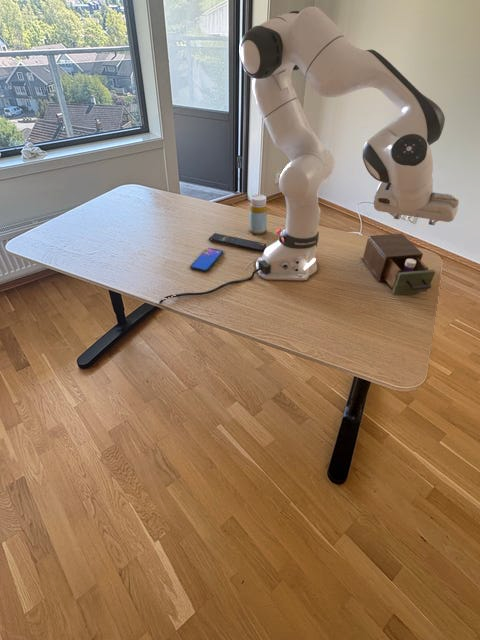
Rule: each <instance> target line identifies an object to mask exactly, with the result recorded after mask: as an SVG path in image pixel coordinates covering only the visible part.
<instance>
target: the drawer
mask: <svg viewBox="0 0 480 640" xmlns="http://www.w3.org/2000/svg"><path fill="white" fill-rule="evenodd" d="M407 259H414V260H415V261H416V265H415V267H414V270H413V271H410V272H402V271H403V268H404V265H405V262H406V260H407ZM435 274H436V270H435V269H429V266H428V265H426V264H425V262H423V261H422V259H421V260H420V259H419V258H418V257H406V258H393V259H388V261H387V265H386V268H385V271H384V274H383V277H384V279H385V280H386V281H385V282H386V283H387V284H388V286H390V288H391V289H392V290H391V293H392V295H393V296H395V295H396V296H397V295H406V294H407V295H408V294H418V293H428V291H429V290H430V289H432V285H431V284H432V281H433V278H434V276H435Z"/></svg>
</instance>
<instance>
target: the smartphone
mask: <svg viewBox="0 0 480 640" xmlns="http://www.w3.org/2000/svg"><path fill="white" fill-rule="evenodd" d="M207 248H208V250H209V251H208V250H207V251H208V254H209V255H208V254H205V253H203V252H202V253H201V254H200V255H199V256H198V257H197V258H196V259H195V260H194V261H193V262H192V263H191V264H190V269H192V270H195V271H201V272H208V271H209V270H210V269H211V268H212V267H213V266H214V265H215V263H216V262H217V261H218V260H219V258H220V257H221V256H222V255H223V253H224V251H223V250H222V249H217V248H212V247H207Z"/></svg>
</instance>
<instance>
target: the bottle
mask: <svg viewBox="0 0 480 640" xmlns="http://www.w3.org/2000/svg"><path fill="white" fill-rule="evenodd" d="M267 217H268V208H267V196H266V195H264V194H253V195H251V197H250V207H249V232H251V234H253V235H257V236H259V235H263V234H265V233H266V232H267V219H268V218H267Z"/></svg>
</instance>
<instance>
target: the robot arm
mask: <svg viewBox="0 0 480 640" xmlns="http://www.w3.org/2000/svg"><path fill="white" fill-rule="evenodd" d="M238 52H239V59H240V64H241V66H242V68H243V70H244V72H245V73H246V74H247V76H249V77H250V78H252V79H253V80H252V85H251V87H252V91H253V95H254V99H255V103H256V105H257V108H258V111H259V113H260V116H261V118H262V120H263V123H264V125H265V128H266V129H267V132H268V133H269V136H270V138H271V140H272V142H273V144H274V146H275V147H276V148H277V149H279V150H281V151H282V152H283V153H284V154H285V155H286V157H287V158H288V159H289V161H290V162H289V163H288V164H287V165H286V166H285V168H284V169H283V170H282V171H281V174H280V175H279V178H278V187H279V190H280V192H281V194H282V195H283V196H284V199H285V205H286V217H285V228H284V229H283V230H282V228H280V227H278V228H276V230H275V234H276V235H277V236H278V239H277V240H276V241H274V242H272V243H271V244H269V245H268V246H266V248H265V250H264V251H262V252H263V253H262V256H259V257H258V258H257V259H256V261H255V270H254V271H253V272H252V273H251V276H249V277H247V278H244V279H240V280H232V281H228V282H225V283H222V284H221V285H219V286H217V287H215V288H213V289H210V290H207V291H202V292H183V293H177V294H175V295H176V296H173V295H174V294H169V295H167V296H164V297H163V298H167V299H170V298H178V297H184V296H201V295H203V296H204V295H207V294H211V293H213V292H216V291H219V290H220V289H223V288H224V287H226V286H229V285H231V284H238V283H243V282H246V281H250V280H252V279H253V278H254V276H255V274H258V276H260V278H262V279H264V280H274V281H276V280H277V281H278V280H279V281H302V282H303V281H306V280H308V279H309V278H310V276H312V275H313V274H315V273H316V272H317V270H318V264H317V247H318V243H319V239H320V238H319V237H320V234H319V233H320V232H319V227H320V219H321V213H322V211H321V207H320V206H319V192H320V191H319V190H320V189H321V187H322V185H323V184H324V183H325V182H327V181H328V180H329V178H330V177H331V175H332V173H333V170H334V168H335V158H334V155H333V154H332V152H331V151H330V150H329V149H327V148H326V147H325V145H323V144H322V142H321V140H320V139H319V138H318V136H317V134H316V133H315V131H314V130H313V129H312V127H311V125H310V123H309V121H308V118H307V115H306V113H305V112H304V109H303V107H302V105H301V102H300V100H299V98H298V97H299V96H298V95H297V93H296V90H295V88H294V85H293V82H292V72H293V71H298V70H299V71H301V73H302V74H303V76H304V78H305V79H306V81H307V82H308V83H309V85H310V87H311V88H313V90H314V91H315V92H316V93H317V94H318V95H319V96H322V97H325V98H338V97H342V96H345V95H348V94H351V93H353V92H355V91H358V90H361V89H362V90H363V89H366V88H374V89H377V90H379V92H381V93H382V94H383V95H385V97H386V98H388V100H389V101H391V102H392V103H393V104H394V106H396V108H397V109H398V110H400V112H401V113H400V114H399V115H398V116H396V118H394V119H393V120H392V121H390V122H389V123H388V124H386V126H384V127H383V128H381V129H380V130H379V131H377V132H376V133H375V134H373V136H371V137H370V138H369V139H368V140H367V141H366V142H365V143H364V145H363V148H362V160H363V164H364V166H365V169H366V171H367V172H368V173H369V175H370V176H371V177H372V178H373V179H375V181H378V182H379V184H378V187H377V189H376V191H375V194H374V197H373V208H374V210H376V211H377V212H382V213H388V214H389V215H391V216H392V217H393V219H394V220H400V219H401V217H402V216H405V217H406V216H407V217H414V218H419V219H427V220H428V225H430V226H435V225H436V223H437V222H445V223H451V222H452V221H454V220H455V217H456V215H457V212H458V209H459V208H458V207H459V200H460V199H459V198H456V197H455V196H454V195H452V194H449V193H441V192H434V191H433V190H434V187H433V185H434V184H433V183H434V179H433V172H434V163H433V154H432V150H431V147H430V146H431V145H433V144H434V143H435V142H437V141H439V139H440V138H441V136H442V133H443V130H444V126H445V121H446V117H445V115H444V111H443V110H442V109H441V108H440V106H439V105H438V104H437V103H436V102H435V101H433V100H432V99H430V98H428V97H427V96H426V95H425V94H423V93H422V92H420V90H419V89H417V87H416V86H414V85H413V83H411V82H410V81H409V80H408V79H407V78H406V77H405V76H404V75H403V74H402V73H401V72H400V71H399V70H398V68H396V67H395V66H394V65H393V64H392V63H391V62H390V61H389V60H387V59H386V57H384V56H383V55H382V54H381V53H379V52H378V51H376V50H374V49H366V50H364V49H361V48H359V47H356V46H355V45H353V44H351V42H349V41H348V40H347V38H346V36H344V34H343V33H342V31H341V30H340V29H339V27H338V26H337V25H336V24H335V22H334V21H333V20H332V19H331V18H330V17H329V16H328V15H327V14H326V13H325V12H324V11H323V10H322V9H320V8H319V7H317V6H308V7H304V8H303V9H302V10H293V11H289V12H288V13H283V14H279V15H276V16H273V17H270V19H268V20H266V21H264V22H262V23H260V24H259V25H254V26H253V27H251V28H250V29H249V30H247V31H246V32H245V33H244V34H243V36H242V38H241V40H240V42H239V50H238ZM171 296H173V297H171ZM168 297H170V298H168ZM165 300H166V299H164V300H162V299H160V300H159V302H158V304H162V303H163V302H164V301H165Z"/></svg>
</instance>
